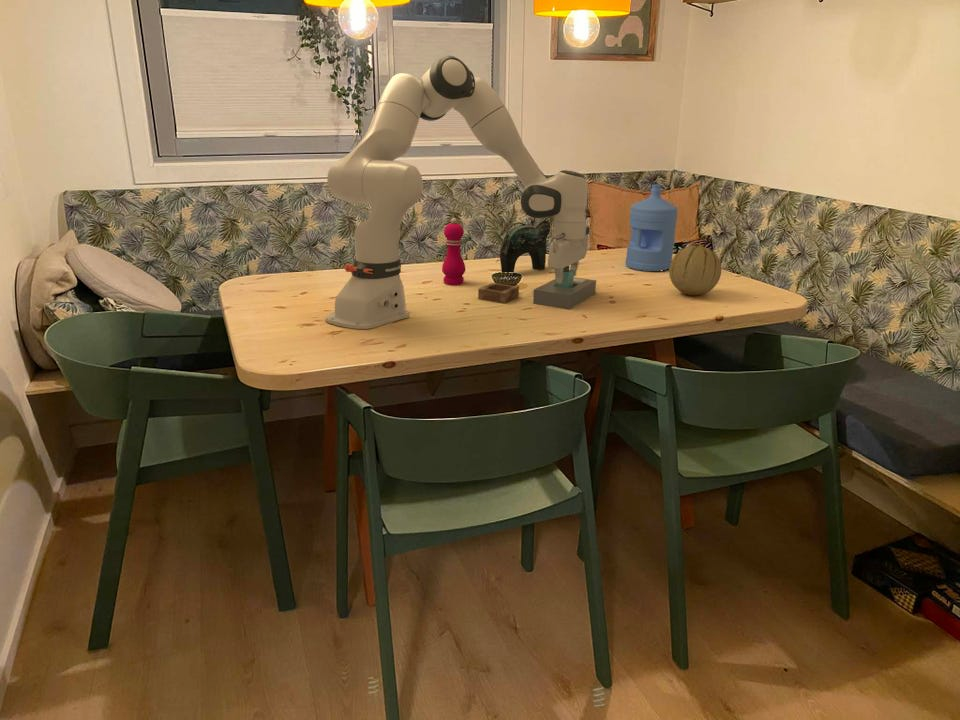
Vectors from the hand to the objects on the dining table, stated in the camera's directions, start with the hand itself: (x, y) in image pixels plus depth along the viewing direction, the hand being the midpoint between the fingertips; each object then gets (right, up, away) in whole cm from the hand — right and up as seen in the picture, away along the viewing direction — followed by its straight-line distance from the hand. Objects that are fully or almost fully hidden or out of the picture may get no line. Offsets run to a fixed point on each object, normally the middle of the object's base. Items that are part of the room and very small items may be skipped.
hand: (566, 279), depth 198 cm
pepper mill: (-33, +1, +17) cm, 37 cm away
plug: (-1, -5, +2) cm, 6 cm away
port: (0, -5, +2) cm, 6 cm away
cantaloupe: (+39, -4, +9) cm, 40 cm away
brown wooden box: (-19, -5, +1) cm, 20 cm away
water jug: (+34, +9, +42) cm, 55 cm away
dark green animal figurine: (-10, +6, +33) cm, 35 cm away
